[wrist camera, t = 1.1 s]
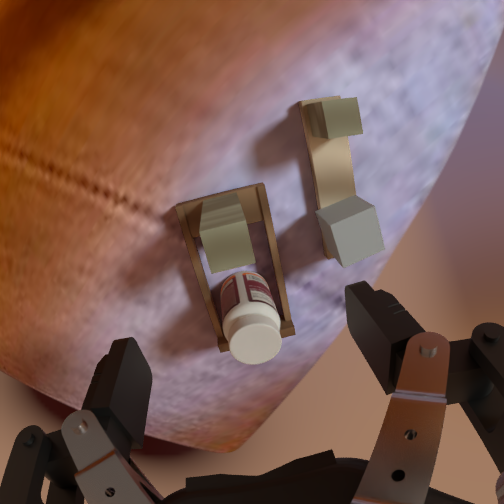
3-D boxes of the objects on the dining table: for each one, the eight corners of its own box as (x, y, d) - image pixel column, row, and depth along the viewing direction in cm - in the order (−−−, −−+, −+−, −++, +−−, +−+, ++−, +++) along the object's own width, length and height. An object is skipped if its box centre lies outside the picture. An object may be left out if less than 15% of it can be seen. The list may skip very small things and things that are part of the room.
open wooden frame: (176, 203, 27) (161, 240, 19) (262, 182, 27) (284, 209, 19) (219, 338, 33) (223, 402, 24) (290, 320, 33) (313, 381, 25)
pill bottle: (229, 318, 32) (235, 375, 25) (213, 278, 30) (214, 331, 23) (274, 303, 32) (292, 358, 24) (261, 262, 30) (278, 311, 23)
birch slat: (298, 101, 25) (315, 97, 20) (335, 96, 25) (359, 92, 21) (324, 255, 31) (342, 278, 26) (357, 246, 31) (379, 267, 26)
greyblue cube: (315, 211, 28) (330, 225, 24) (354, 194, 28) (374, 206, 24) (327, 249, 29) (343, 268, 26) (365, 233, 29) (384, 249, 26)
